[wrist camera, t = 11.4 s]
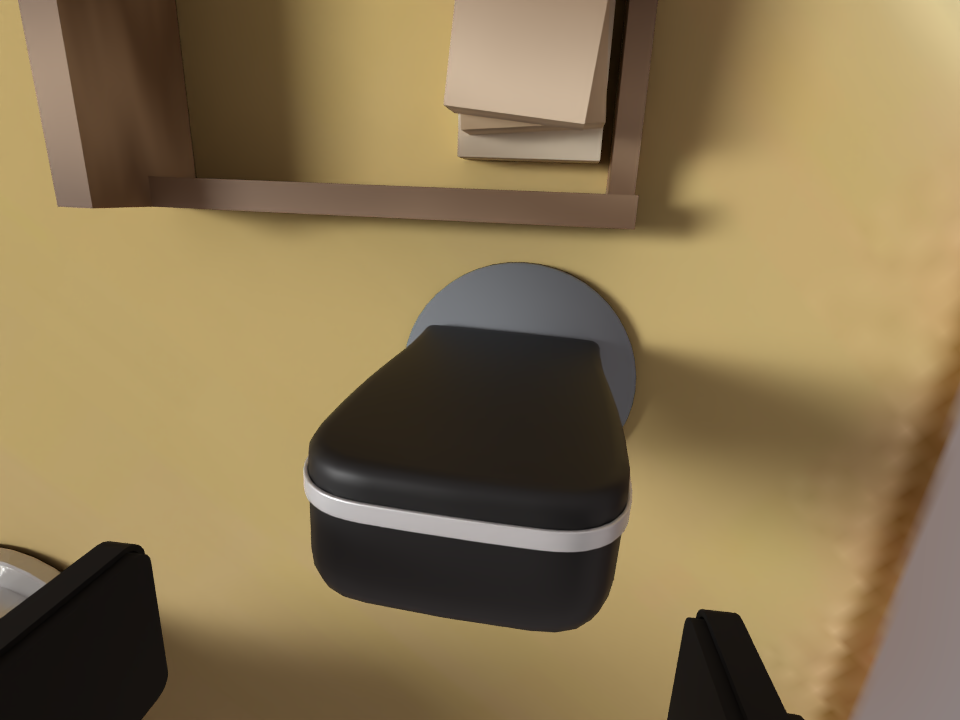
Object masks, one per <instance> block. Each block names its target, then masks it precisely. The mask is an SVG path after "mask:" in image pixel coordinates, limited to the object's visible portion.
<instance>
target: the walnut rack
mask: <svg viewBox="0 0 960 720" xmlns="http://www.w3.org/2000/svg"><path fill="white" fill-rule="evenodd" d="M18 3H19V8H20V13H21V18H22V23H23V29H24V34H25V39H26V44H27V49H28V54H29V60H30V65H31V70H32V75H33V80H34V86H35V91H36V96H37V101H38V106H39V111H40V117H41V122H42V127H43V132H44V137H45V142H46V148H47V153H48V158H49V163H50V168H51V174H52V179H53V184H54V189H55V194H56V199H57V205H58V207H77V208H119V207H173V208H194V209H215V210H237V211H258V212H279V213H300V214H321V215H342V216H363V217H384V218H405V219H426V220H448V221H469V222H490V223H511V224H532V225H553V226H574V227H595V228H616V229H635V221H636V213H637V205H638V197H639V195H635V188H636V180H637V172H638V163H639V155H640V147H641V138H642V130H643V121H644V113H645V105H646V96H647V88H648V80H649V71H650V63H651V55H652V46H653V38H654V29H655V21H656V13H657V4H658V0H626V6H625V15H624V25H623V35H622V44H621V54H620V63H619V73H618V83H617V92H616V102H615V112H614V121H613V131H612V140H611V150H610V160H609V169H608V179H607V188H606V194H590V193H564V192H538V191H513V190H487V189H462V188H436V187H410V186H385V185H359V184H334V183H308V182H282V181H257V180H231V179H206V178H196V175H195V167H194V158H193V149H192V141H191V132H190V124H189V115H188V106H187V98H186V89H185V81H184V72H183V63H182V55H181V46H180V38H179V29H178V20H177V12H176V3H175V0H18Z"/></svg>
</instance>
